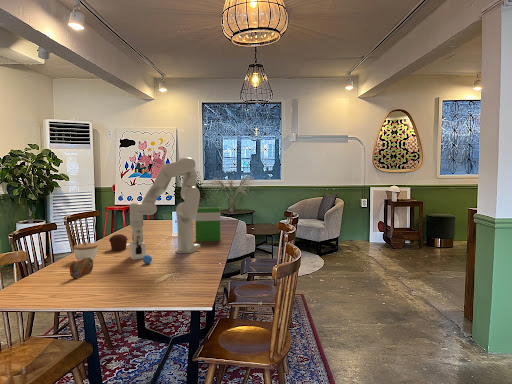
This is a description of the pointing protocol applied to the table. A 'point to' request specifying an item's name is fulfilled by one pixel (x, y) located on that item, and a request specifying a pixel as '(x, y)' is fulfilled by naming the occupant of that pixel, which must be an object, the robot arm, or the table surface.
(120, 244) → the muffin
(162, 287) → the table surface
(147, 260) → the ball
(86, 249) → the lidded bowl
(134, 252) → the beige cube
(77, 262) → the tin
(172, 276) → the table surface
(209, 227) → the hardback book
